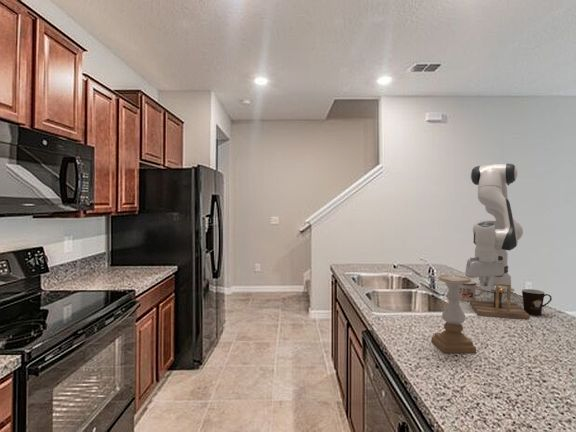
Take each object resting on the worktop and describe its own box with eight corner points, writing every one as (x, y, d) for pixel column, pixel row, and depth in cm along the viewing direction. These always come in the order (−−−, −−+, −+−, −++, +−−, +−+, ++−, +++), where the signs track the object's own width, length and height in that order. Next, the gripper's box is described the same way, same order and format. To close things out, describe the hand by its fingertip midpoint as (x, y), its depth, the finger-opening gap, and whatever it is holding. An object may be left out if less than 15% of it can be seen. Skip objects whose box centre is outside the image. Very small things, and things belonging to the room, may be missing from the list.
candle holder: (461, 341, 140) (462, 274, 139) (476, 353, 129) (478, 280, 128) (430, 341, 140) (432, 274, 139) (444, 353, 129) (445, 281, 128)
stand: (469, 304, 191) (470, 274, 190) (515, 307, 185) (516, 277, 185) (477, 315, 172) (478, 283, 171) (529, 319, 166) (530, 285, 166)
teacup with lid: (455, 300, 198) (455, 277, 197) (456, 296, 206) (457, 274, 206) (482, 303, 192) (482, 279, 192) (482, 299, 201) (482, 276, 200)
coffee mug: (521, 314, 173) (522, 292, 173) (520, 309, 181) (521, 288, 180) (553, 318, 168) (554, 295, 167) (550, 313, 175) (551, 291, 175)
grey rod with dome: (486, 285, 190) (486, 280, 190) (499, 286, 188) (499, 280, 188) (494, 294, 171) (494, 288, 171) (508, 295, 170) (509, 289, 169)
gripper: (472, 258, 179) (472, 288, 179) (507, 256, 186) (506, 285, 186) (462, 256, 185) (461, 286, 185) (496, 255, 192) (495, 283, 192)
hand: (484, 286), depth 186 cm, fingers closed
